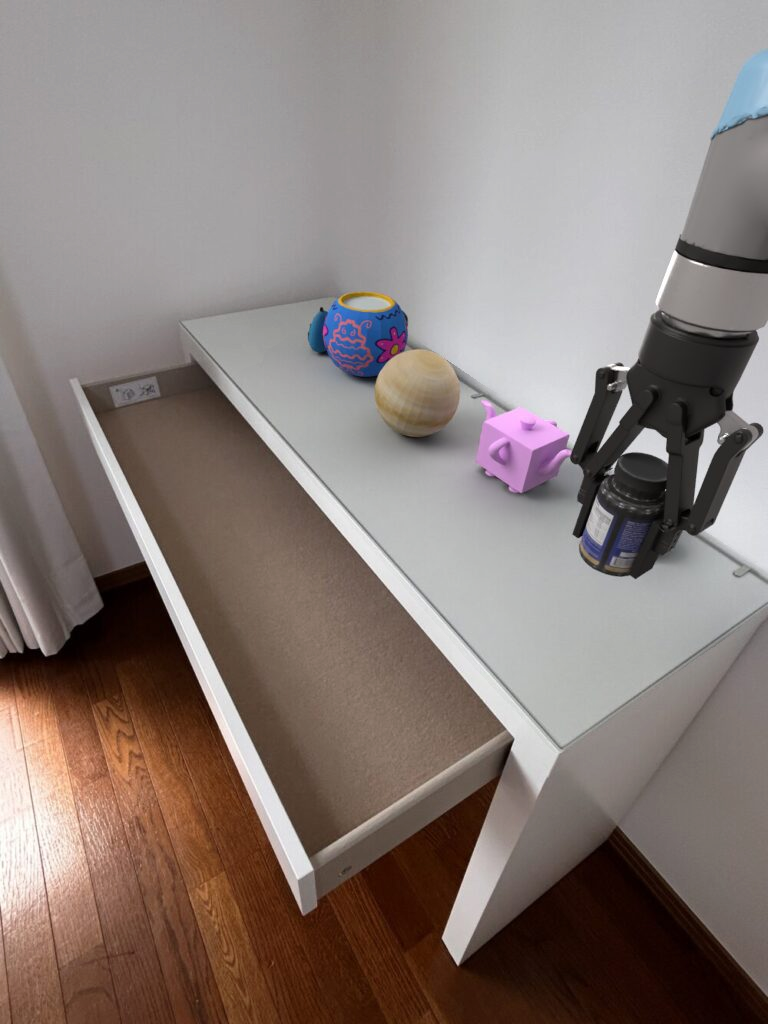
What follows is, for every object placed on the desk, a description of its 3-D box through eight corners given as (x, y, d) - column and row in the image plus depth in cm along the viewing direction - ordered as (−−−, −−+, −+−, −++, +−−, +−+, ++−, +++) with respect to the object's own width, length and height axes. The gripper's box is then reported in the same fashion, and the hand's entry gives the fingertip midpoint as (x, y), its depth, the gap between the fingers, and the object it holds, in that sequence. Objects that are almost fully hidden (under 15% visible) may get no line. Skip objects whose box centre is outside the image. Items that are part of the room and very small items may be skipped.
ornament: (322, 342, 133) (322, 299, 127) (339, 347, 131) (340, 303, 125) (302, 354, 127) (301, 310, 121) (320, 359, 126) (319, 315, 119)
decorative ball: (402, 402, 113) (409, 328, 103) (468, 428, 106) (482, 352, 97) (355, 432, 103) (358, 353, 93) (425, 463, 97) (435, 382, 87)
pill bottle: (646, 552, 58) (689, 462, 51) (632, 589, 54) (676, 495, 47) (586, 529, 60) (619, 440, 53) (568, 562, 56) (601, 470, 49)
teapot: (465, 491, 91) (476, 432, 84) (472, 447, 101) (482, 392, 95) (561, 507, 89) (581, 449, 82) (558, 461, 100) (575, 406, 93)
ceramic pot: (416, 364, 127) (423, 296, 117) (384, 397, 114) (389, 323, 104) (346, 347, 132) (347, 280, 122) (308, 377, 119) (306, 305, 109)
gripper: (870, 356, 38) (722, 595, 52) (627, 276, 50) (561, 490, 64) (821, 381, 34) (676, 631, 49) (571, 288, 46) (514, 512, 60)
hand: (611, 550), depth 56 cm, fingers closed on pill bottle, 6 cm apart
